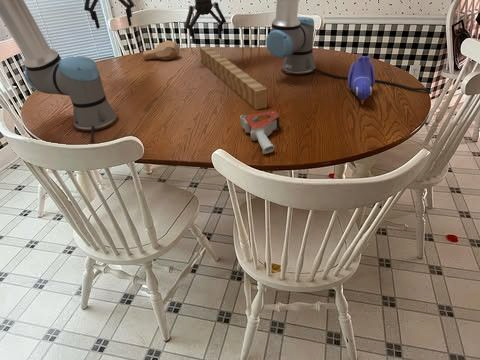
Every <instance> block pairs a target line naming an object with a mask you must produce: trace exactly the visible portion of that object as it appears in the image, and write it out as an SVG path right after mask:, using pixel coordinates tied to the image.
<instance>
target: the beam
mask: <svg viewBox="0 0 480 360" xmlns="http://www.w3.org/2000/svg"><path fill="white" fill-rule="evenodd" d="M199 55H200V61H201V64H203V65H205V67H207V68H208V69H209V70H210V71H211V72H212V73H214V74H215V75H216V76H217V77H218V78H219V79H220V80H221V81H223V82H224V83H225V84H226V85H227V86H228V87H229V88H231V89H232V90H233V91H234V92H236V94H238V95H239V96H240V97H241V98H242V99H243V100H244V101H246V102H247V103H248V104H249V105H250V106H251V107H252V108H254V109H255V110H256V111H257V110H261V109H265V108H268V88H267V87H265V86H264V85H263V84H261V83H260V82H259V81H257V80H255V78H253V77H251V76H250V75H249V74H248V73H246V72H245V71H244V70H242V69H241V68H239V67H238V66H236V64H235V63H233V62H232V61H229V59H227V58H226V57H224V56H223V55H221V54H220V53H219V52H217V51H216V50H215V49H214V48H212V47H210V46H209V45H205V46H199Z"/></svg>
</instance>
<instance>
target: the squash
mask: <svg viewBox="0 0 480 360" xmlns="http://www.w3.org/2000/svg"><path fill="white" fill-rule="evenodd" d="M179 55H180V47H179V46H178V44H177V41H174V40H169V39H168V40H165V41H163V42H159V43H158V44H157V45H156V47H154V48H152V49H147V50H143V51H142V58H143V60H145V61H149V60H151V59H159V60H163V61H171V60H173V59H175V58H176V57H177V56H178V57H179Z"/></svg>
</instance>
